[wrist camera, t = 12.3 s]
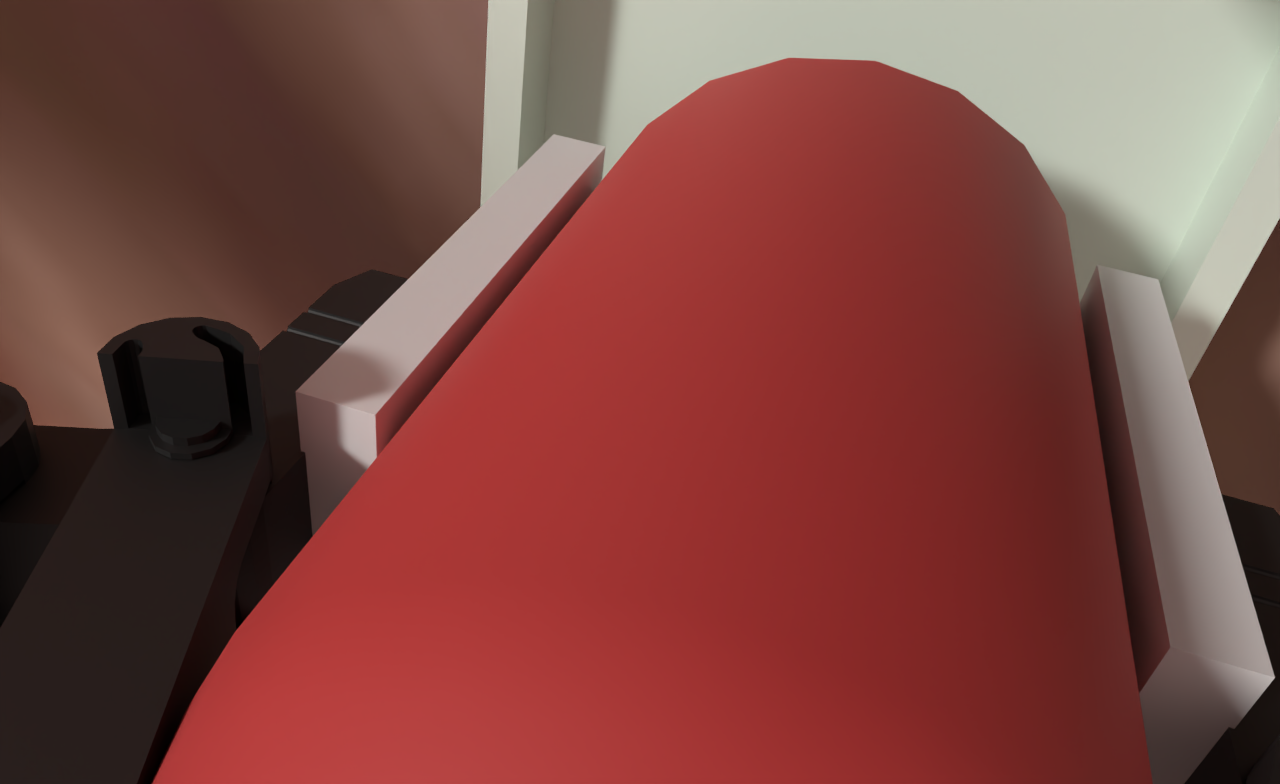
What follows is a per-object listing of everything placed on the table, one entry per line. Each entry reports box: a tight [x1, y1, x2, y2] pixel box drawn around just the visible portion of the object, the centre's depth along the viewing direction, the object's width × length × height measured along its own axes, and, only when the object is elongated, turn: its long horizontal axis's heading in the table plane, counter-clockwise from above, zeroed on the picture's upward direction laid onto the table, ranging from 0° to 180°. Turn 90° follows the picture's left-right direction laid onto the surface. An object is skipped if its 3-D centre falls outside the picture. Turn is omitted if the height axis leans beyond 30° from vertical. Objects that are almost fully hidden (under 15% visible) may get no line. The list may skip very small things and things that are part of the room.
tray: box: [480, 0, 1280, 381], centre depth 16 cm, size 11×11×2 cm
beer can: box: [150, 58, 1153, 784], centre depth 10 cm, size 7×7×12 cm
